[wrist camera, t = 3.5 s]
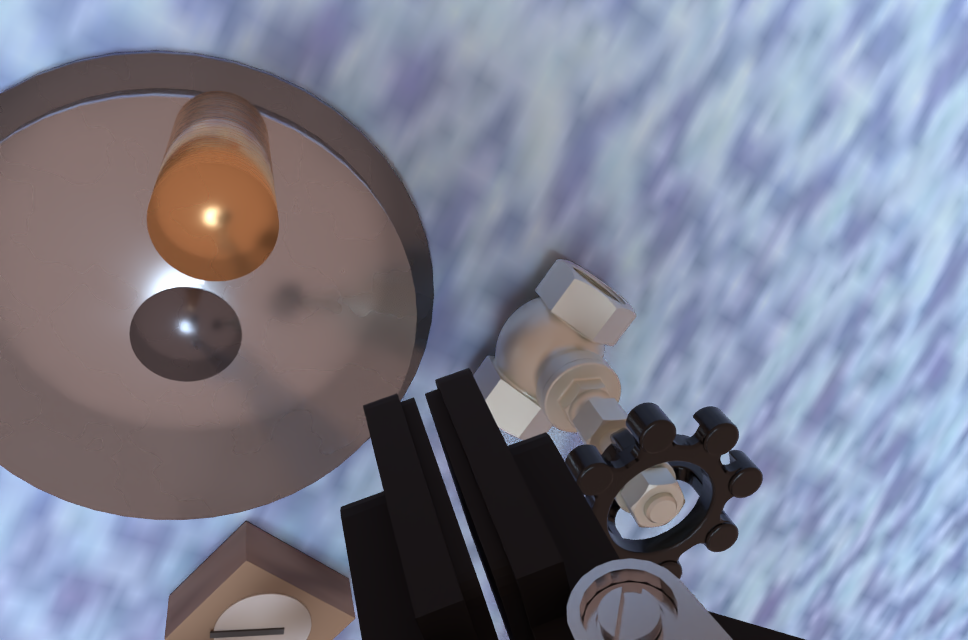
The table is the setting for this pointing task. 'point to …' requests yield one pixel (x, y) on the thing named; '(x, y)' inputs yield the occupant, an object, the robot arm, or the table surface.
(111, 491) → the handwheel
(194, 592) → the dial pad
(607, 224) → the table surface
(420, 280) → the plinth
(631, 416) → the valve
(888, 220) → the table surface
